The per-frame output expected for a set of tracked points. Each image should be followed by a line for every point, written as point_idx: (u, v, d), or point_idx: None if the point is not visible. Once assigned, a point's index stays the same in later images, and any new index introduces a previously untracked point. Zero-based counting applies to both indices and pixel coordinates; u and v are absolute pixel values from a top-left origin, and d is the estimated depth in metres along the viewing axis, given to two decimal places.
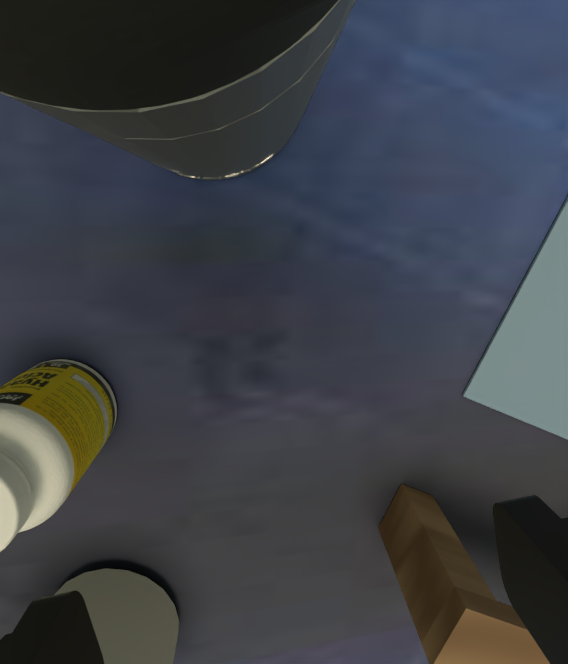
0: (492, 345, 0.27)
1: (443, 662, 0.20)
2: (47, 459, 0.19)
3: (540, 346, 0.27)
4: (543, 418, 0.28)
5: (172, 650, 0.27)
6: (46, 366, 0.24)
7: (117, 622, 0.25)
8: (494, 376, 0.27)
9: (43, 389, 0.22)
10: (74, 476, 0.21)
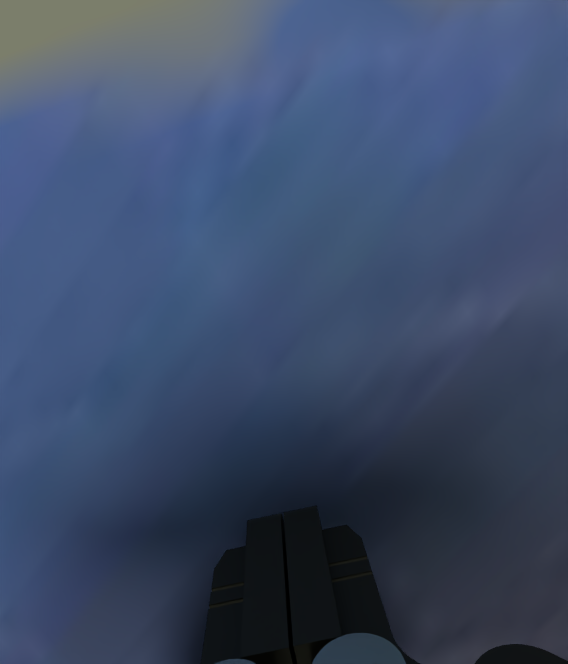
0: None
1: None
2: None
3: None
4: None
5: None
6: None
7: None
8: None
9: None
10: None
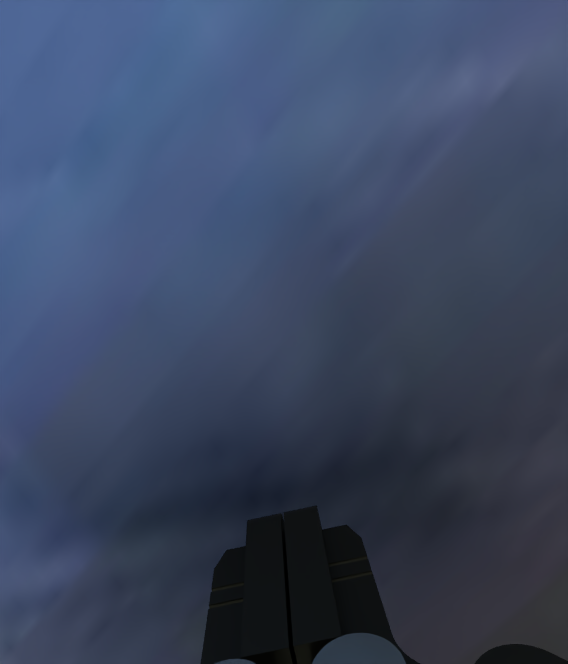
0: None
1: None
2: None
3: None
4: None
5: None
6: None
7: None
8: None
9: None
10: None
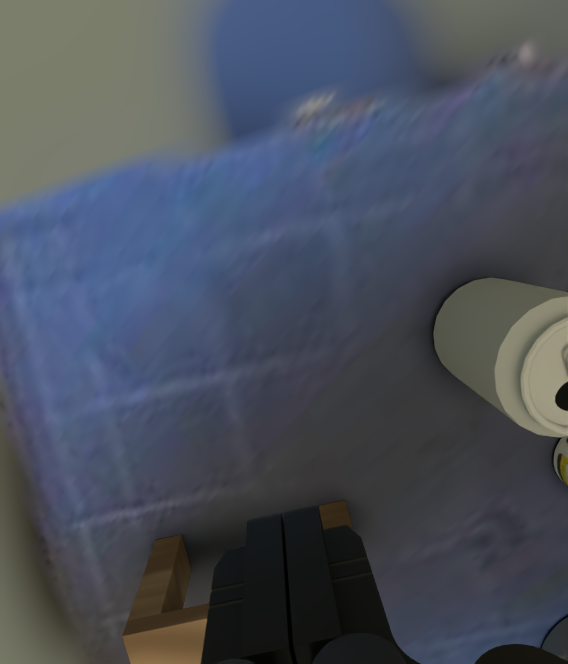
0: None
1: None
2: None
3: None
4: None
5: (454, 373, 0.33)
6: None
7: None
8: None
9: None
10: None
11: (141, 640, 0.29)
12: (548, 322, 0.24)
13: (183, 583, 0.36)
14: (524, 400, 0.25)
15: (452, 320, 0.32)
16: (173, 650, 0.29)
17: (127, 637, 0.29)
